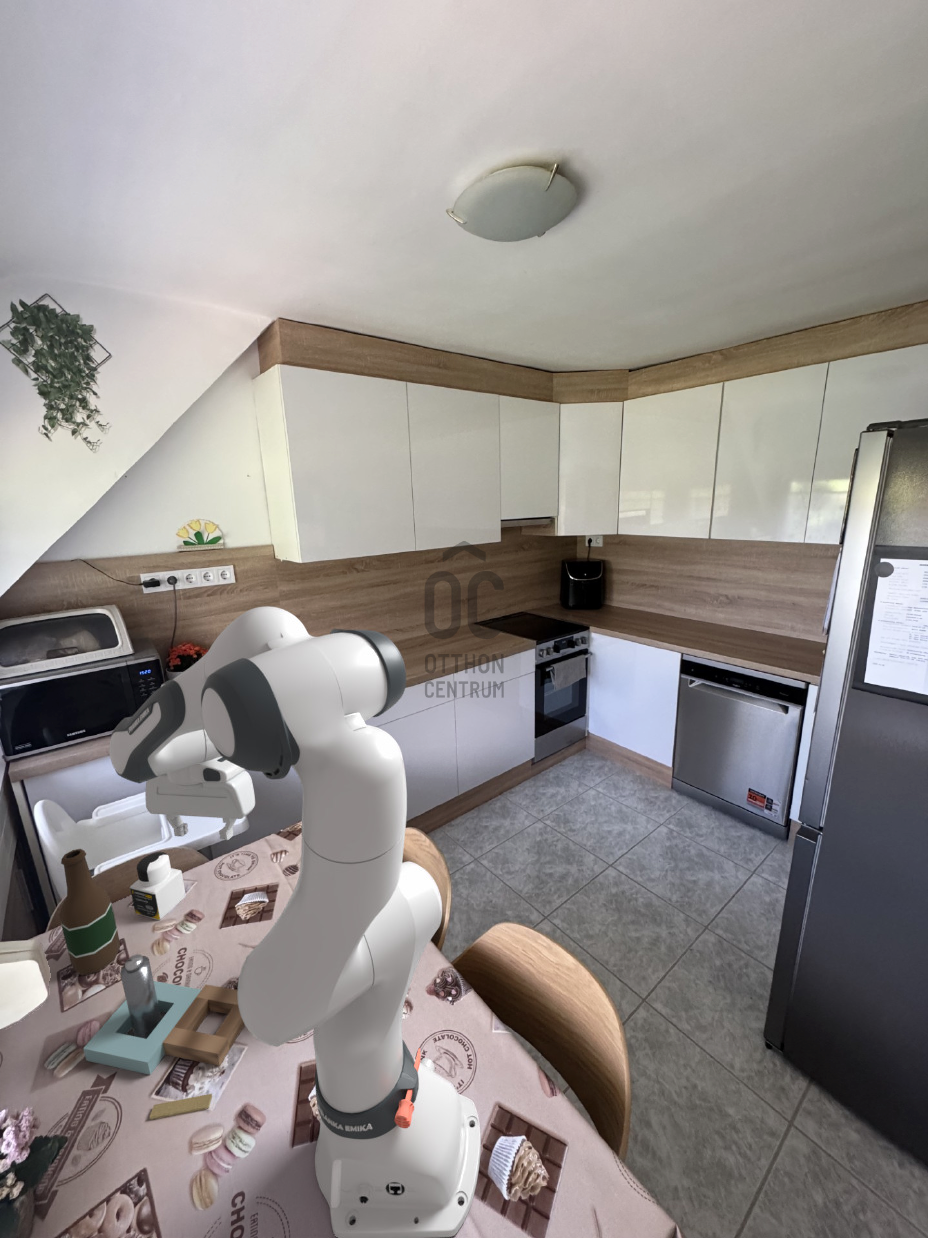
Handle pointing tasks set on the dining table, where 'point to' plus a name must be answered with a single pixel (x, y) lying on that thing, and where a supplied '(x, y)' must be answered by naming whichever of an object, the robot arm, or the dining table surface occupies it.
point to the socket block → (202, 1045)
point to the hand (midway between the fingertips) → (204, 836)
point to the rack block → (135, 1051)
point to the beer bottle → (87, 918)
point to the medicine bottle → (157, 886)
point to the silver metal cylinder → (140, 995)
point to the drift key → (181, 1106)
